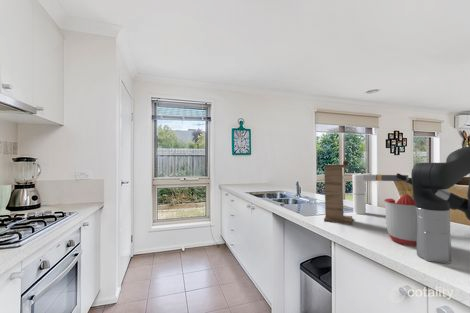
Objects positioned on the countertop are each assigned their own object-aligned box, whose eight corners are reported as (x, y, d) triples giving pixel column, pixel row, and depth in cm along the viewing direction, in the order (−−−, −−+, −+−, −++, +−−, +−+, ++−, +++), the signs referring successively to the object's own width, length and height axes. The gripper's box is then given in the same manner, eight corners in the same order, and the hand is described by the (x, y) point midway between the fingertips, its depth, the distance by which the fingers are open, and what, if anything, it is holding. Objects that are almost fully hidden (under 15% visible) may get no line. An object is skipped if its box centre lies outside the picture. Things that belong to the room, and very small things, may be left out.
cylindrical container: (353, 213, 147) (352, 174, 148) (353, 211, 153) (352, 174, 154) (366, 214, 144) (365, 175, 144) (365, 212, 150) (364, 174, 151)
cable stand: (351, 224, 123) (350, 161, 123) (324, 221, 129) (322, 161, 130) (352, 218, 134) (350, 161, 135) (326, 216, 141) (325, 161, 141)
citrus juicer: (418, 236, 102) (417, 191, 103) (441, 250, 86) (439, 197, 86) (379, 233, 107) (378, 190, 107) (393, 246, 90) (391, 196, 91)
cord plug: (363, 180, 124) (363, 174, 124) (363, 179, 128) (362, 174, 128) (408, 181, 114) (408, 175, 115) (406, 180, 119) (406, 174, 119)
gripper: (434, 185, 117) (398, 168, 124) (444, 188, 105) (403, 169, 112) (426, 197, 119) (390, 180, 126) (434, 201, 106) (394, 182, 113)
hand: (397, 175), depth 119 cm, fingers closed on cord plug, 3 cm apart
